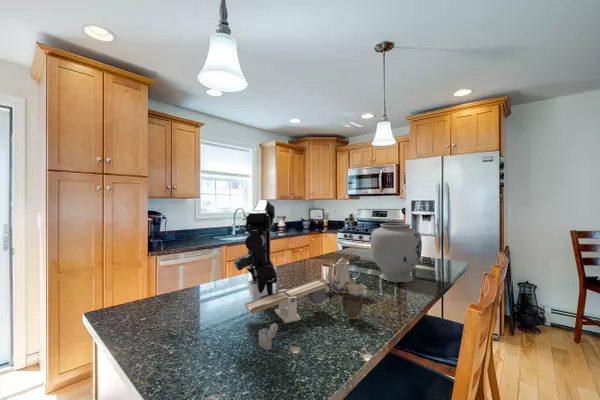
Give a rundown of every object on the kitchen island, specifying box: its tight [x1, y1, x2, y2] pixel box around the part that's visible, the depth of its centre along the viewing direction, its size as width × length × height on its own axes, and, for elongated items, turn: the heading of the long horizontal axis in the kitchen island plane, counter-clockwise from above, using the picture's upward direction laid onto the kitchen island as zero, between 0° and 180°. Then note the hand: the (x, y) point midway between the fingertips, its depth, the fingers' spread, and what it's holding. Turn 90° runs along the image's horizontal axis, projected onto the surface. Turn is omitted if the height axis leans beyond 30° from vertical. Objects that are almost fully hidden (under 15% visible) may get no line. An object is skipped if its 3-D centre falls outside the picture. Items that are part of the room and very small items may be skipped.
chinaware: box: [311, 256, 371, 298], centre depth 133 cm, size 28×17×17 cm, turn 68°
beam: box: [244, 279, 328, 315], centre depth 107 cm, size 7×30×6 cm, turn 115°
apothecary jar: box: [370, 222, 423, 283], centre depth 157 cm, size 27×27×30 cm
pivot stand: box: [274, 288, 302, 324], centre depth 107 cm, size 12×6×8 cm, turn 25°
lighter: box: [258, 322, 279, 351], centre depth 83 cm, size 7×2×8 cm, turn 45°
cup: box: [341, 293, 364, 321], centre depth 103 cm, size 8×7×8 cm
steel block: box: [247, 279, 268, 300], centre depth 102 cm, size 5×5×5 cm
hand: (258, 290), depth 102 cm, fingers closed on steel block, 5 cm apart
